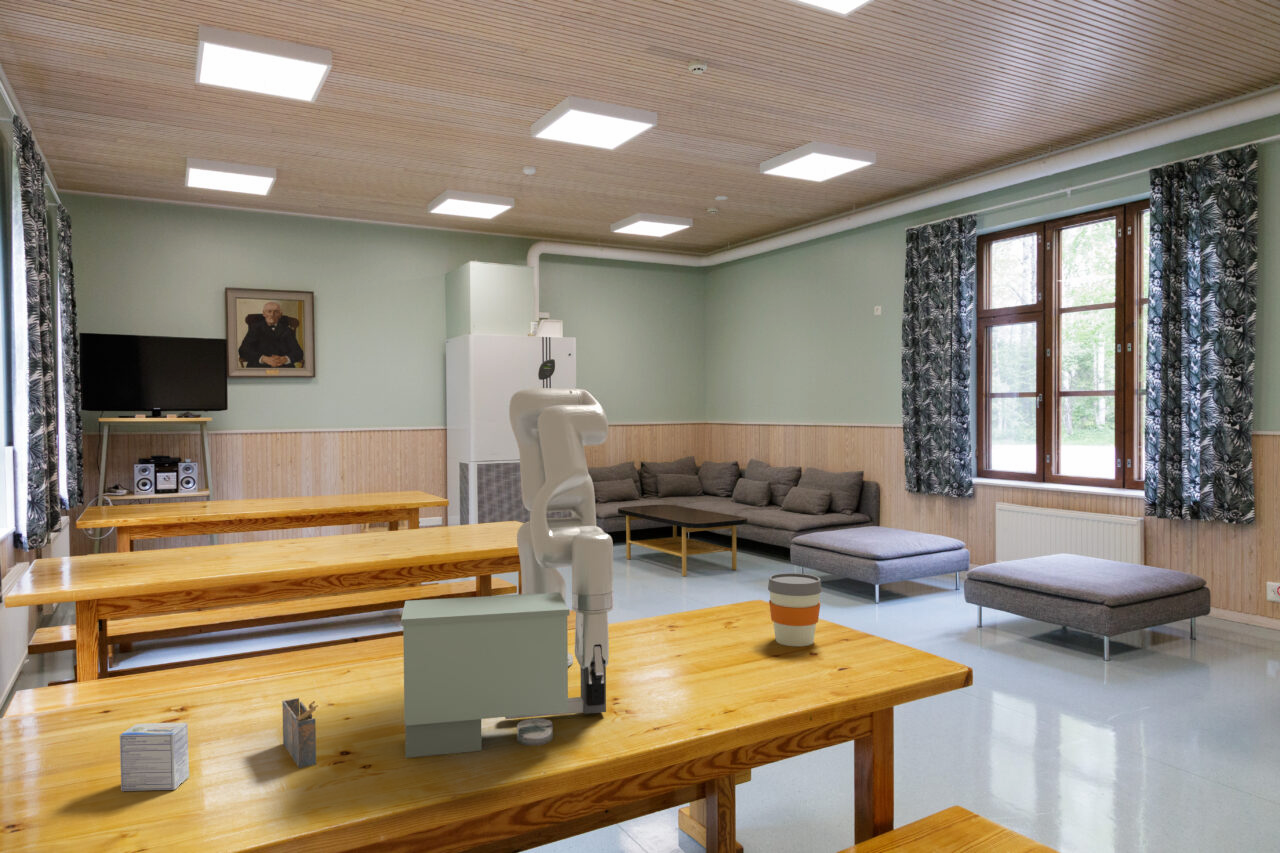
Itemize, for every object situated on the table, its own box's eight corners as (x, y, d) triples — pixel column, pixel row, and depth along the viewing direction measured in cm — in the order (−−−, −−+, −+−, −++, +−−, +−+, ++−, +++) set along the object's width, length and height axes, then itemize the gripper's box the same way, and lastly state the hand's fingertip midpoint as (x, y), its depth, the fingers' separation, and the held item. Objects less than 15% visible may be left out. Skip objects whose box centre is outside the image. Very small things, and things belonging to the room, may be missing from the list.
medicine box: (190, 777, 126) (189, 721, 126) (174, 791, 121) (173, 733, 121) (137, 778, 126) (136, 722, 125) (119, 792, 121) (118, 734, 121)
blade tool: (504, 712, 149) (503, 663, 149) (602, 704, 153) (601, 656, 153) (505, 721, 146) (505, 670, 145) (606, 711, 150) (605, 662, 149)
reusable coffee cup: (780, 650, 189) (781, 585, 189) (759, 635, 201) (759, 574, 201) (830, 646, 192) (831, 582, 192) (807, 632, 204) (807, 571, 204)
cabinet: (407, 733, 143) (405, 600, 142) (560, 719, 148) (559, 592, 148) (402, 764, 130) (401, 619, 130) (570, 747, 136) (569, 609, 136)
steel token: (515, 734, 142) (515, 719, 142) (550, 731, 144) (550, 716, 144) (518, 748, 137) (518, 733, 136) (554, 744, 138) (554, 730, 138)
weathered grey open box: (319, 765, 131) (318, 705, 131) (298, 770, 129) (297, 709, 129) (302, 741, 140) (301, 685, 140) (283, 746, 138) (282, 688, 138)
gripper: (565, 591, 158) (566, 686, 158) (579, 613, 142) (579, 719, 142) (604, 589, 160) (605, 683, 160) (622, 610, 143) (622, 715, 144)
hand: (593, 699), depth 151 cm, fingers closed on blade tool, 4 cm apart
